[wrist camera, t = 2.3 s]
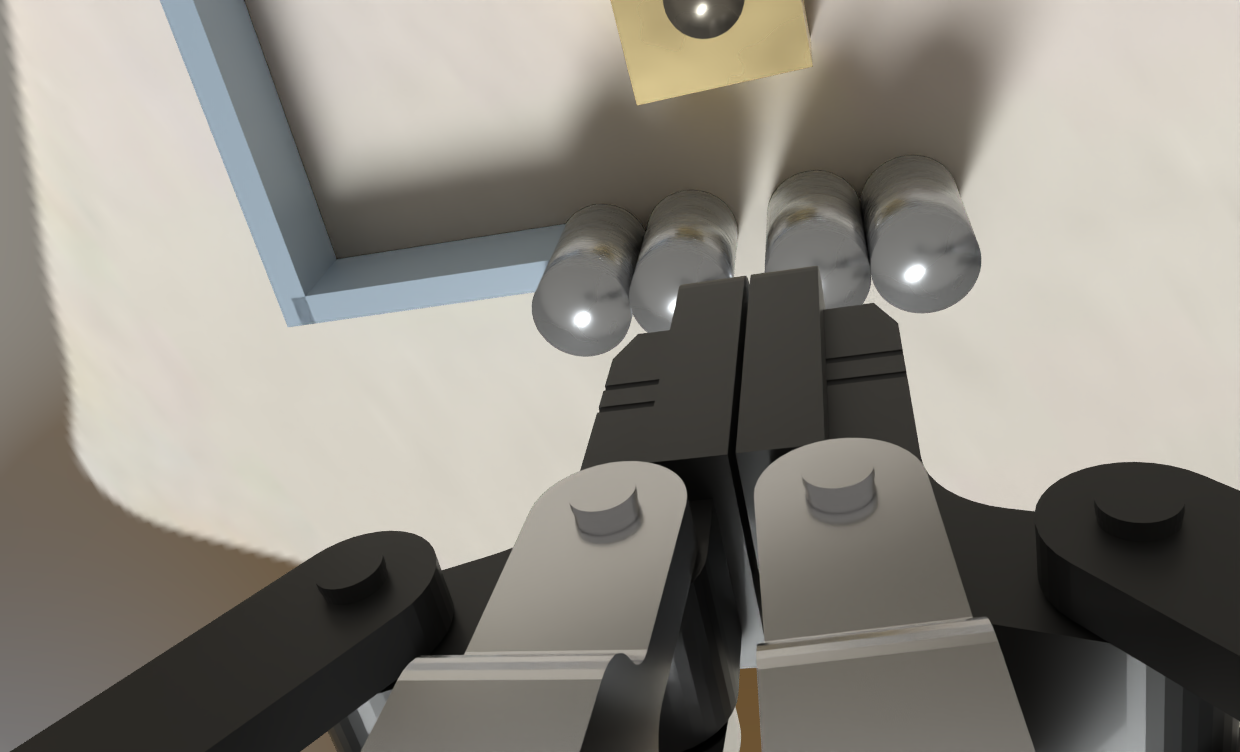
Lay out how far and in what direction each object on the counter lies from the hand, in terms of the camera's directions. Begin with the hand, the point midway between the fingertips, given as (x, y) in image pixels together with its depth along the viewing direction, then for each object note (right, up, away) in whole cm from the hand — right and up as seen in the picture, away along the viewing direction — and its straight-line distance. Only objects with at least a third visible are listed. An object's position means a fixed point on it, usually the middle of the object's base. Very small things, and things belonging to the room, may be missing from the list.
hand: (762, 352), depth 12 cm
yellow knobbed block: (+1, +12, +21) cm, 24 cm away
